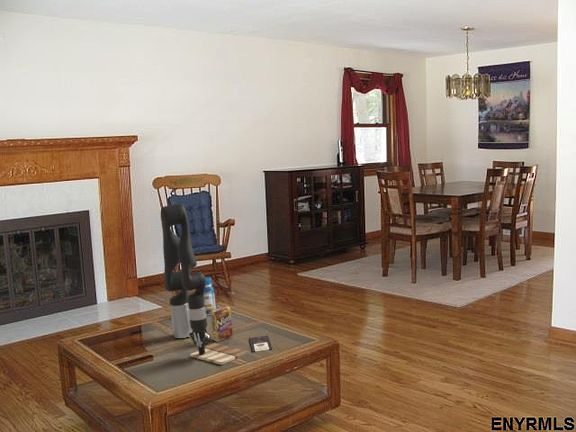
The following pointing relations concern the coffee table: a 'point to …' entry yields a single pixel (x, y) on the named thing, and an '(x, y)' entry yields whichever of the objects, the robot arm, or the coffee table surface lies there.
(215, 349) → the laid row
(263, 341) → the chocolate bar
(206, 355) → the plank
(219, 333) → the candy box
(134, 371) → the coffee table surface
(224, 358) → the plank
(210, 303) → the beverage bottle
